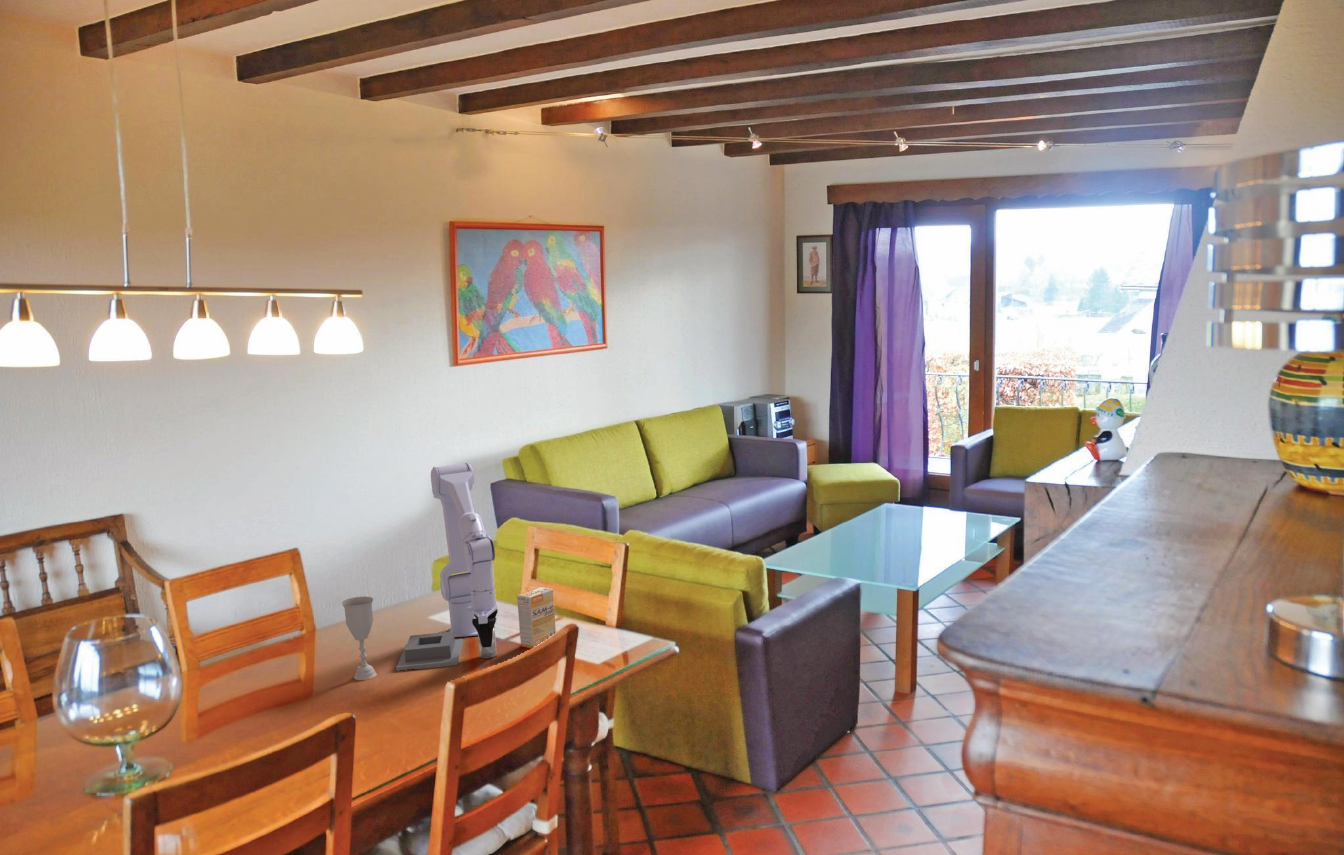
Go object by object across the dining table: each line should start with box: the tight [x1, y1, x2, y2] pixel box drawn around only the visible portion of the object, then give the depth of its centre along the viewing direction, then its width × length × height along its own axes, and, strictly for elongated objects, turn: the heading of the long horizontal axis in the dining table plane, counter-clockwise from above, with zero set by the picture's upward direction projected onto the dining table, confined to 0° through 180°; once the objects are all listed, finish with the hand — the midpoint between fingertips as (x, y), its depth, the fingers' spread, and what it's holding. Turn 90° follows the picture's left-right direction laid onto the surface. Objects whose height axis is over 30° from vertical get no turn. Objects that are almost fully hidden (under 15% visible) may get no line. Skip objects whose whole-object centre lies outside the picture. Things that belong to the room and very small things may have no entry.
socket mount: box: [395, 631, 464, 672], centre depth 244 cm, size 16×14×4 cm
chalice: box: [341, 596, 378, 681], centre depth 233 cm, size 7×7×18 cm
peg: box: [477, 625, 498, 659], centre depth 242 cm, size 4×4×8 cm
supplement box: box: [516, 586, 557, 649], centre depth 249 cm, size 8×5×13 cm, turn 143°
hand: (487, 643), depth 242 cm, fingers closed on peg, 4 cm apart
